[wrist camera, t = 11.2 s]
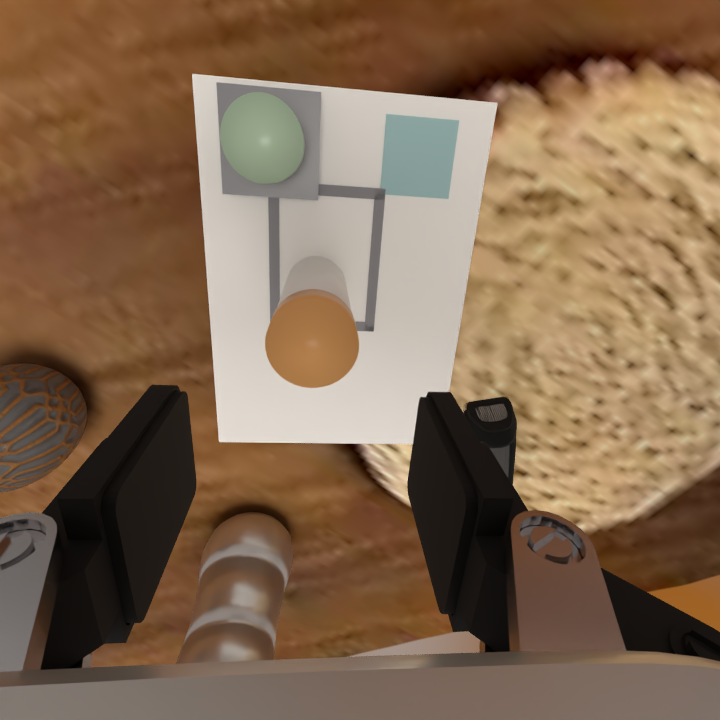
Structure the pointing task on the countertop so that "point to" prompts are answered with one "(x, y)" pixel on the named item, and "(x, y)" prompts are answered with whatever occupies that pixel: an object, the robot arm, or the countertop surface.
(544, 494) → the countertop surface
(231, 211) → the sheet
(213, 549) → the plastic bottle
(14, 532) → the robot arm
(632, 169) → the countertop surface
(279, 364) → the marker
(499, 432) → the electric trimmer
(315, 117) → the button housing
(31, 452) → the vase
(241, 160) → the button
